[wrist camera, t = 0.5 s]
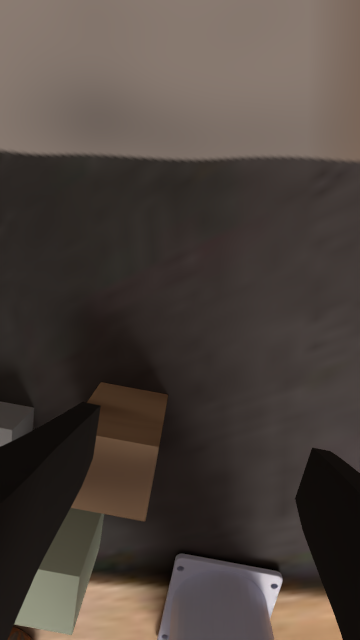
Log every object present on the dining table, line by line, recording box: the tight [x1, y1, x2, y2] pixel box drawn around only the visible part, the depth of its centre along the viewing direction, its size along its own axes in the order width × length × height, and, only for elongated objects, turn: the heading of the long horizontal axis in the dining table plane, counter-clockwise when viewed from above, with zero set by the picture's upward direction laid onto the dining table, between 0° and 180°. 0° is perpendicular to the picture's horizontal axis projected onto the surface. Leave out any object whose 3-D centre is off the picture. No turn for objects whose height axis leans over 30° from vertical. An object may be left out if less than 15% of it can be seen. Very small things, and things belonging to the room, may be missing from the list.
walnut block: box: [71, 382, 168, 521], centre depth 18 cm, size 4×4×6 cm
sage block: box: [14, 508, 104, 635], centre depth 20 cm, size 4×4×6 cm
